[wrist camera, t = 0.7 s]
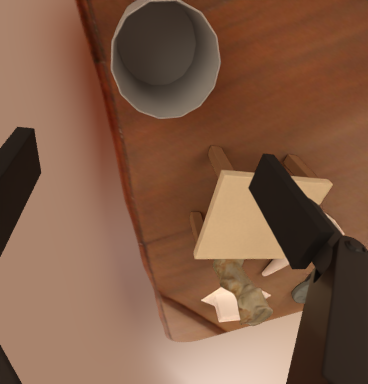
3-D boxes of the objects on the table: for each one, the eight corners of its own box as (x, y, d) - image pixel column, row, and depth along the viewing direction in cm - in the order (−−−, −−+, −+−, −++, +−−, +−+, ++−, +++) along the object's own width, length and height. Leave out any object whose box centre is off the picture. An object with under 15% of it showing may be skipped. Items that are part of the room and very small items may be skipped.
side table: (207, 141, 36) (224, 175, 29) (300, 152, 39) (333, 184, 33) (185, 220, 44) (194, 259, 38) (263, 223, 48) (283, 259, 42)
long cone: (240, 260, 57) (312, 206, 47) (260, 263, 61) (331, 214, 50) (250, 284, 53) (330, 232, 43) (269, 287, 57) (349, 239, 46)
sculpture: (248, 239, 50) (284, 315, 39) (224, 260, 54) (250, 336, 42) (227, 229, 48) (258, 308, 36) (203, 252, 51) (224, 331, 39)
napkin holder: (200, 300, 62) (205, 324, 58) (236, 276, 58) (245, 300, 54) (237, 315, 70) (244, 337, 65) (271, 295, 66) (281, 317, 61)
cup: (196, -7, 25) (225, -4, 18) (195, 81, 31) (217, 113, 23) (108, -4, 24) (98, 1, 17) (123, 86, 30) (120, 122, 22)
